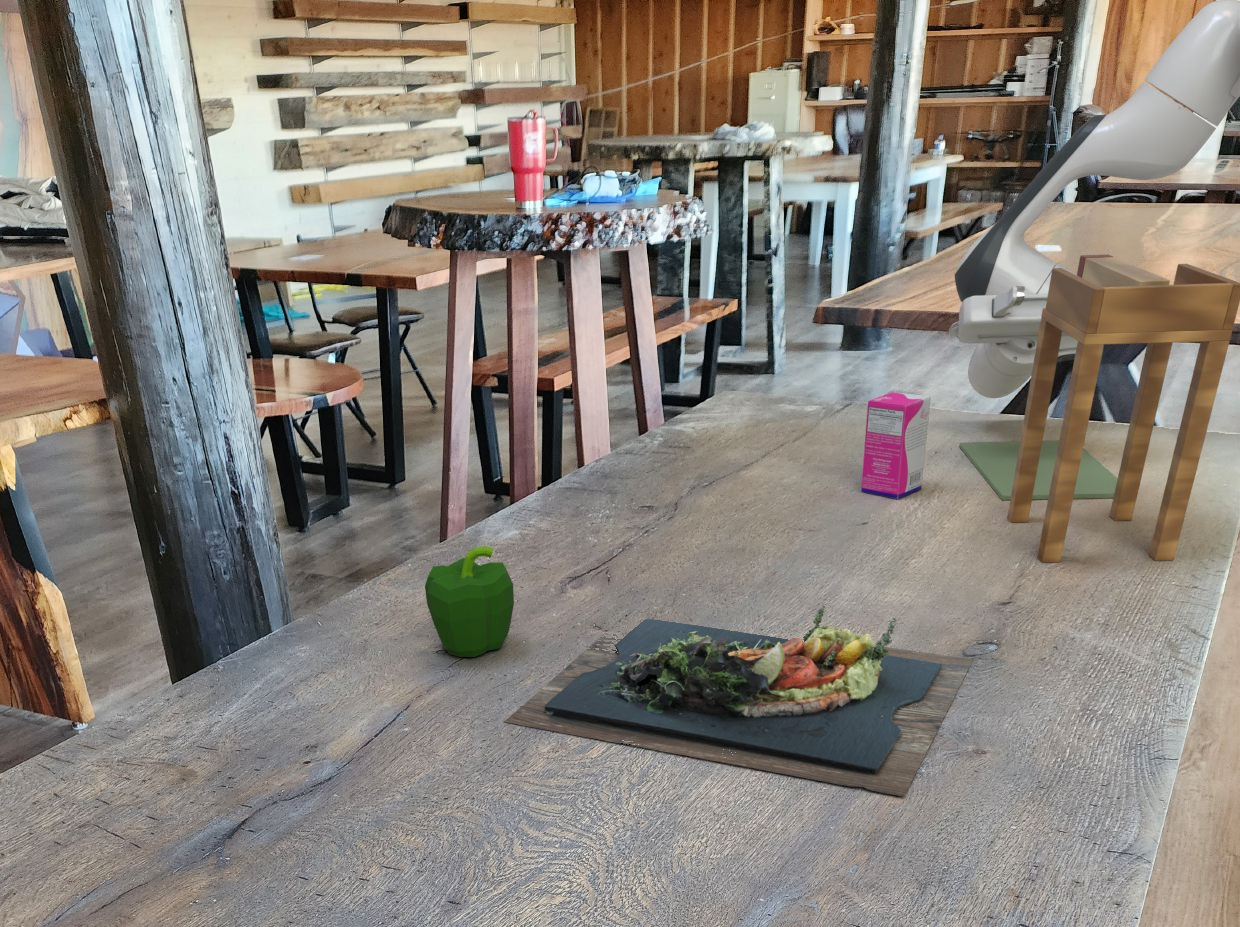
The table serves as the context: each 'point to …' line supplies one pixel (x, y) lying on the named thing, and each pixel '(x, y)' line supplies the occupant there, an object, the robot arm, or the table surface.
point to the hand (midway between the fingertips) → (1057, 290)
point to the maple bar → (1115, 272)
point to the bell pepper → (470, 604)
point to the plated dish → (759, 700)
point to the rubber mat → (1001, 463)
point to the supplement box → (895, 444)
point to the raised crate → (1128, 317)
